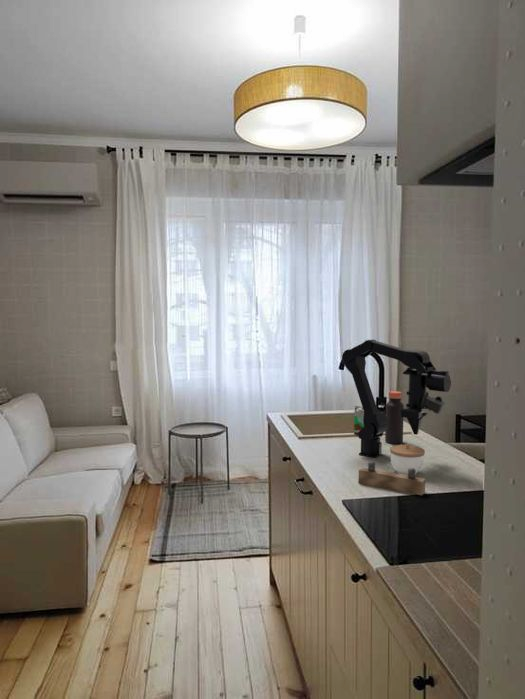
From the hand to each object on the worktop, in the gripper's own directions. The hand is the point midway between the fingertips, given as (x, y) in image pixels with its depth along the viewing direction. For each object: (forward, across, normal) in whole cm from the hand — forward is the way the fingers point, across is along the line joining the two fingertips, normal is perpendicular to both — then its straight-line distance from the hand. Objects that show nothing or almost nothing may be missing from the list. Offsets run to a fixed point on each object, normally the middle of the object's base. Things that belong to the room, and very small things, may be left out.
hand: (415, 434), depth 169 cm
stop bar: (+10, -26, 0) cm, 28 cm away
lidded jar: (+11, -10, 0) cm, 15 cm away
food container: (+11, +33, +32) cm, 47 cm away
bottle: (+11, +24, +15) cm, 30 cm away
